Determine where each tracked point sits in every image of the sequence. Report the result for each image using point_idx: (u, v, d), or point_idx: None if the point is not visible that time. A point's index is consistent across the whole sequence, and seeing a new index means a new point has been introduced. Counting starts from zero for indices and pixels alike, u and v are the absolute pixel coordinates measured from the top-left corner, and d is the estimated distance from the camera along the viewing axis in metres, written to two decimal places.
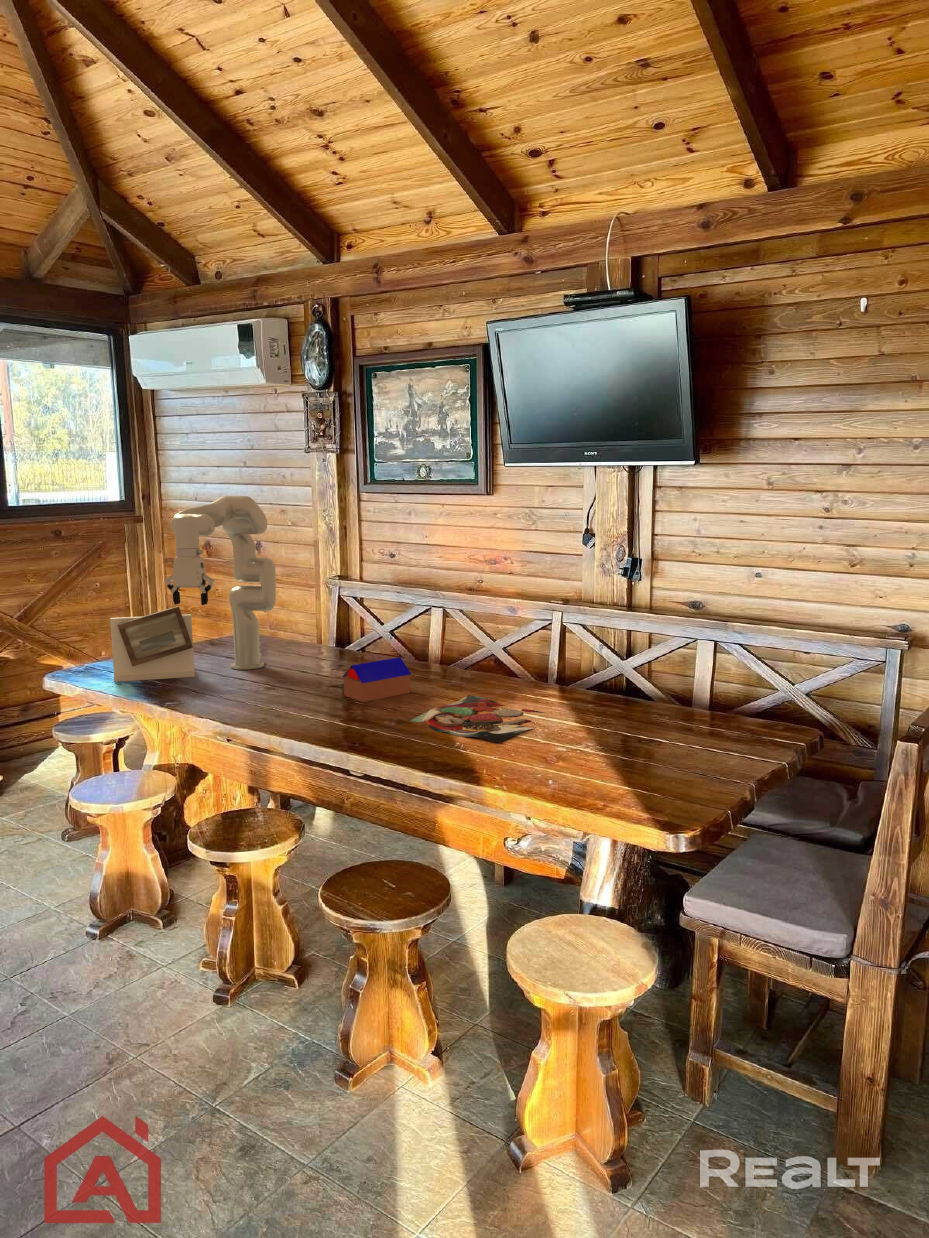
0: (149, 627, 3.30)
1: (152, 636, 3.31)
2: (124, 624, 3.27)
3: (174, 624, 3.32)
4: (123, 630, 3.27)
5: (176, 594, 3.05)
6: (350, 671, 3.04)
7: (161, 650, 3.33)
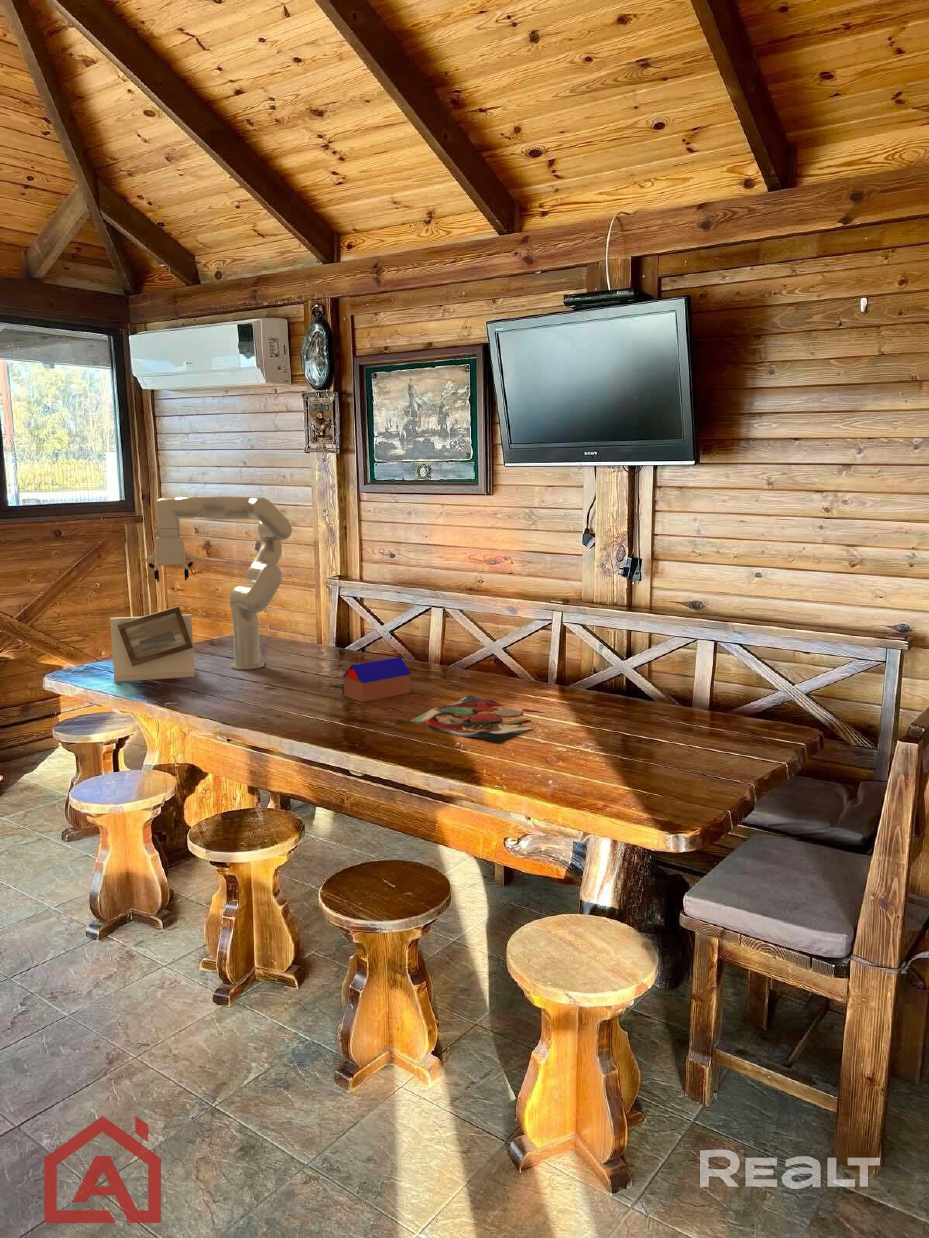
0: (149, 627, 3.30)
1: (152, 636, 3.31)
2: (124, 624, 3.27)
3: (174, 624, 3.32)
4: (123, 630, 3.27)
5: (184, 570, 3.31)
6: (349, 671, 3.04)
7: (161, 650, 3.33)
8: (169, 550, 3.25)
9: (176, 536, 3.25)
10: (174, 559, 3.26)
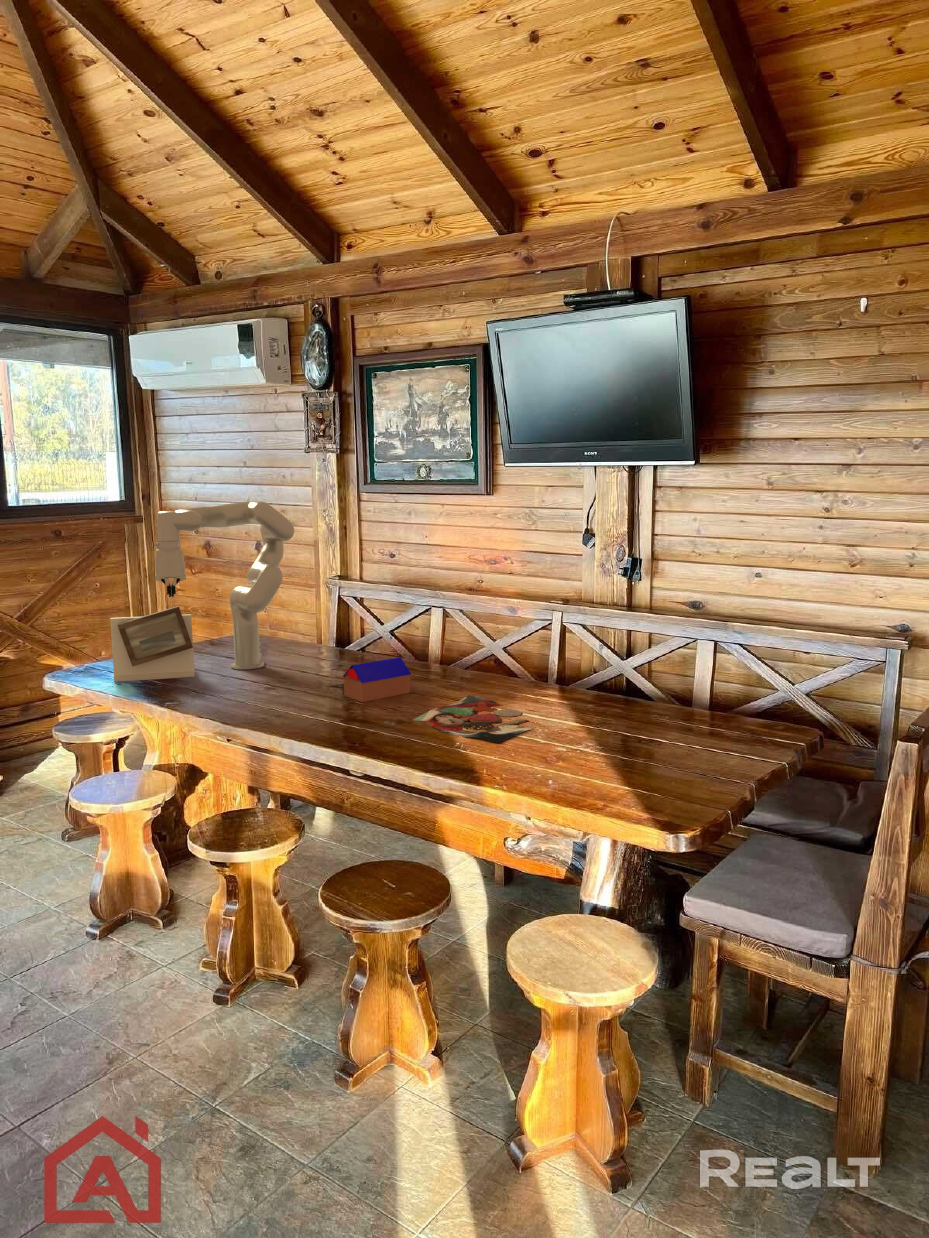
0: (149, 627, 3.30)
1: (152, 636, 3.31)
2: (124, 624, 3.27)
3: (174, 624, 3.32)
4: (123, 630, 3.27)
5: None
6: (349, 671, 3.04)
7: (161, 650, 3.33)
8: (169, 563, 3.26)
9: (176, 549, 3.26)
10: (174, 572, 3.27)
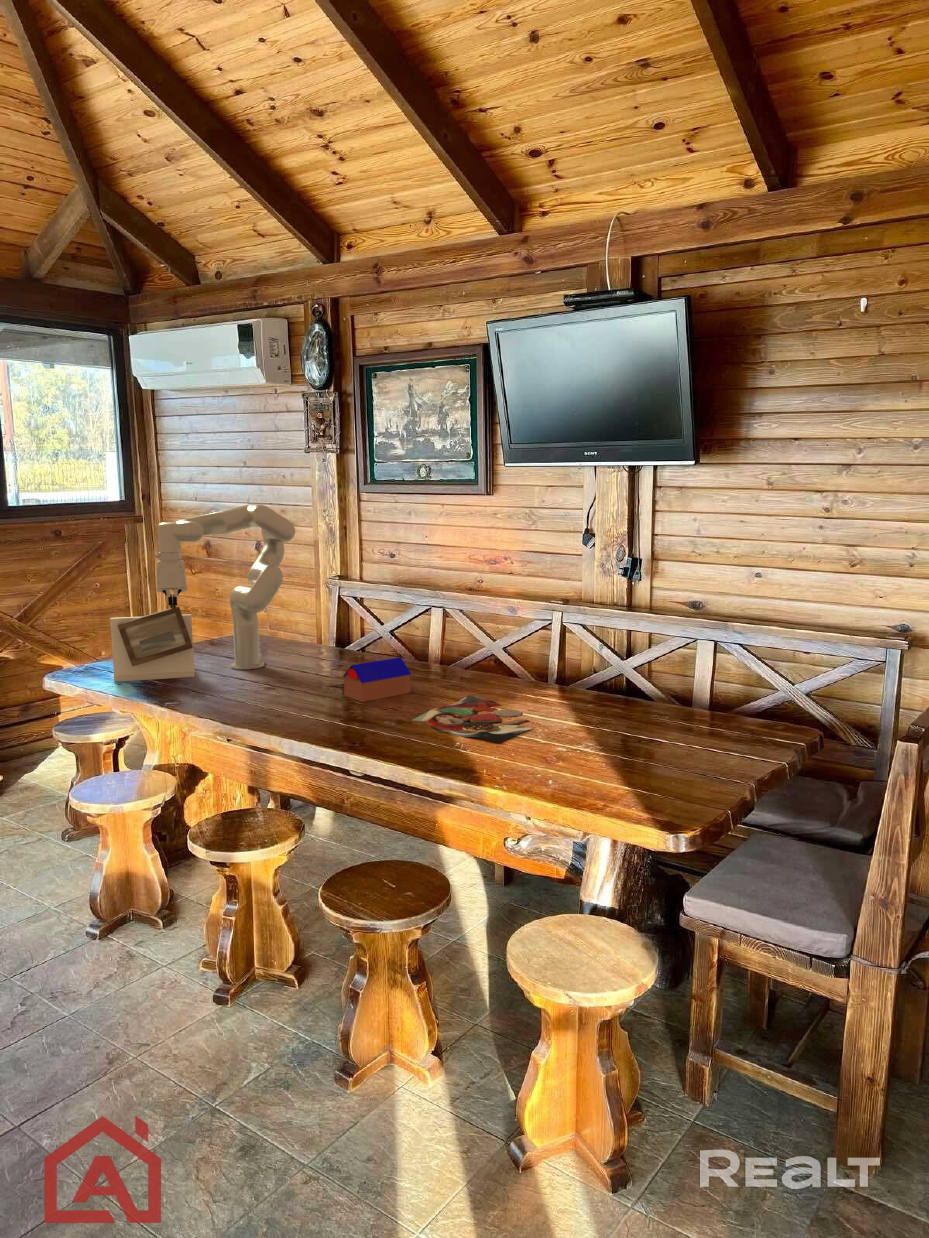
0: (149, 627, 3.30)
1: (152, 636, 3.31)
2: (124, 624, 3.27)
3: (174, 624, 3.32)
4: (123, 630, 3.27)
5: None
6: (349, 671, 3.05)
7: (161, 650, 3.33)
8: (170, 574, 3.27)
9: (177, 560, 3.27)
10: (175, 583, 3.28)
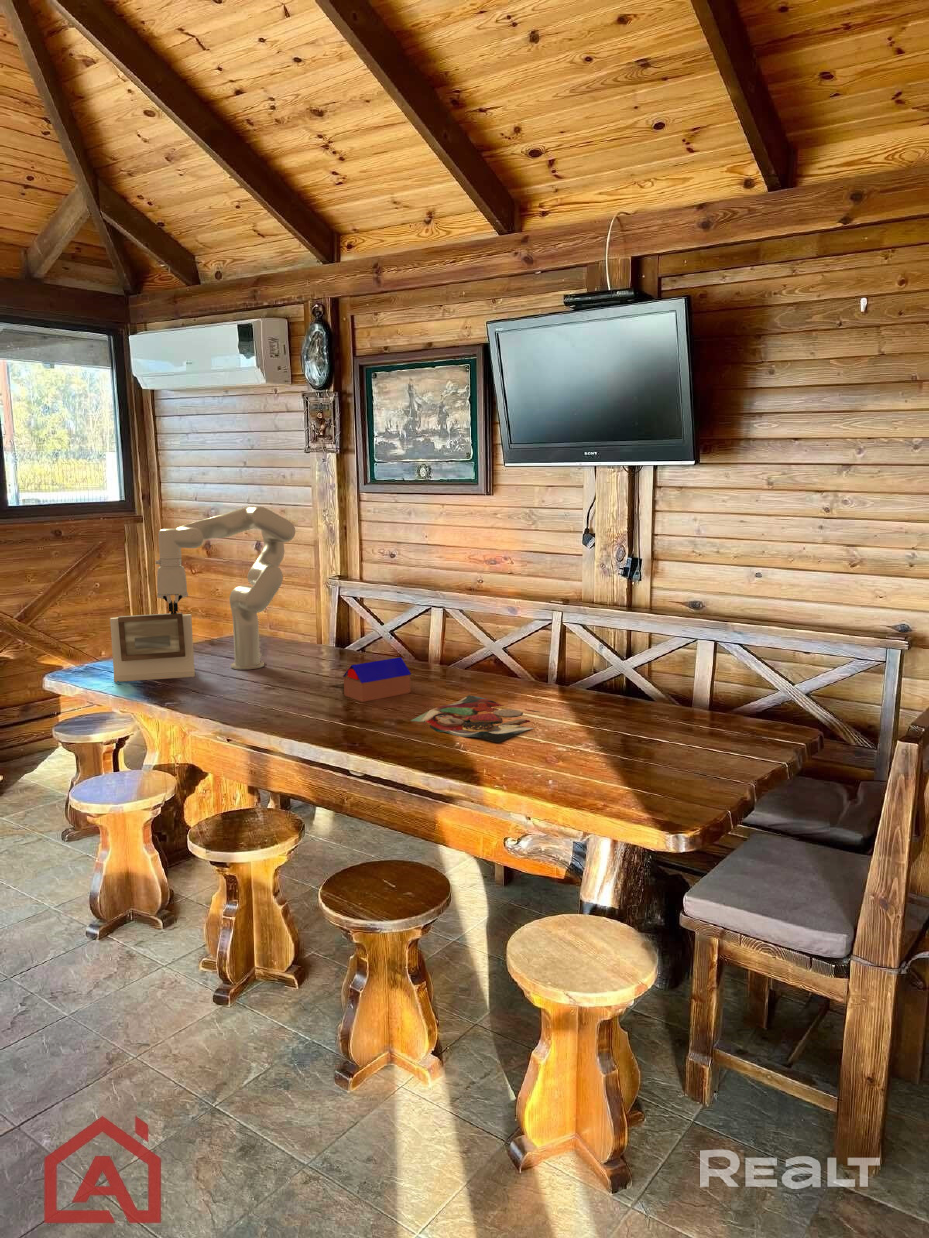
0: (148, 626, 3.30)
1: (148, 636, 3.31)
2: (125, 618, 3.26)
3: (173, 629, 3.33)
4: (122, 624, 3.27)
5: None
6: (349, 671, 3.05)
7: (154, 652, 3.32)
8: (170, 580, 3.27)
9: (178, 566, 3.27)
10: (175, 589, 3.28)
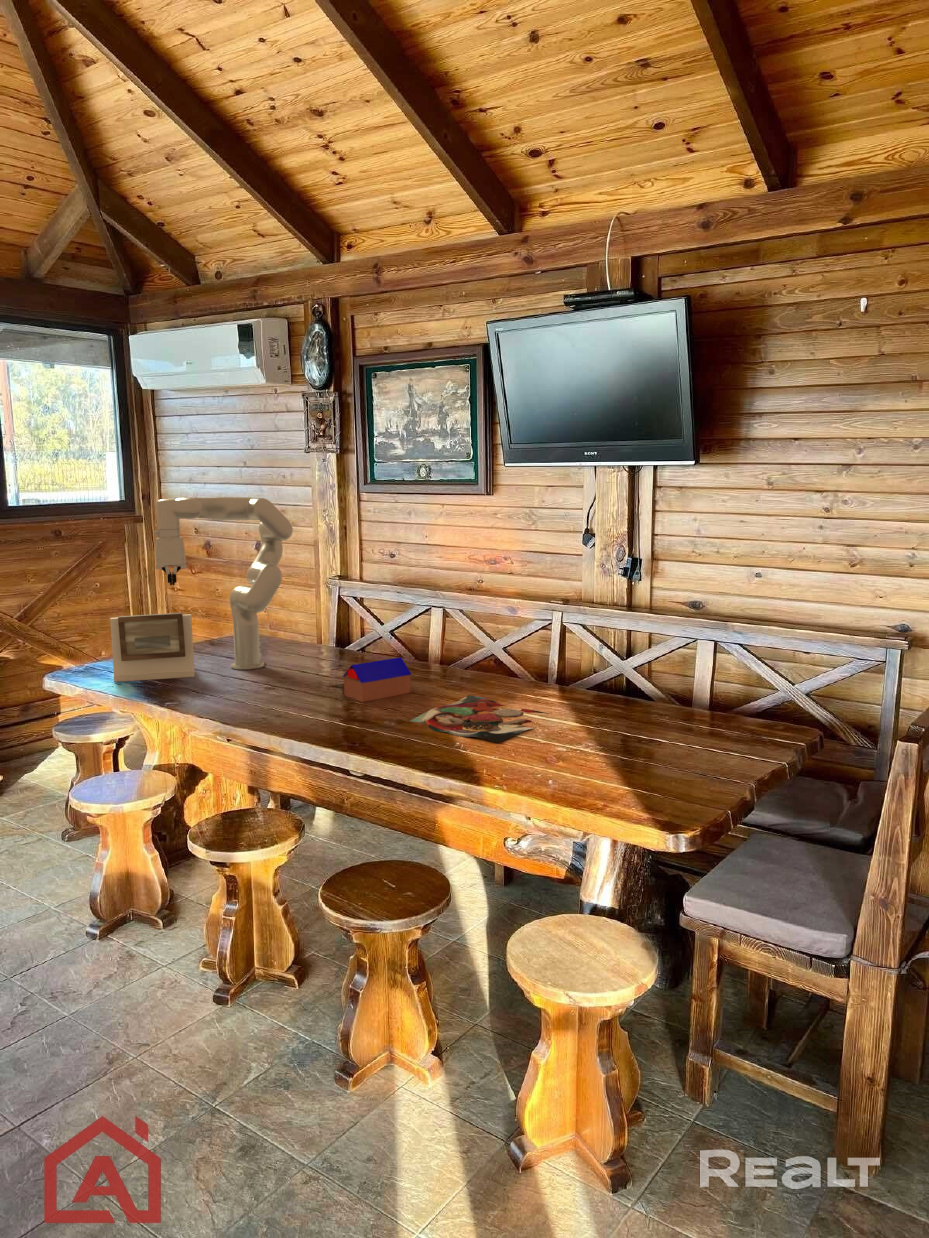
0: (148, 626, 3.30)
1: (148, 636, 3.31)
2: (125, 618, 3.26)
3: (173, 629, 3.33)
4: (122, 624, 3.27)
5: None
6: (349, 671, 3.05)
7: (154, 652, 3.32)
8: (169, 551, 3.25)
9: (176, 537, 3.25)
10: (174, 560, 3.26)
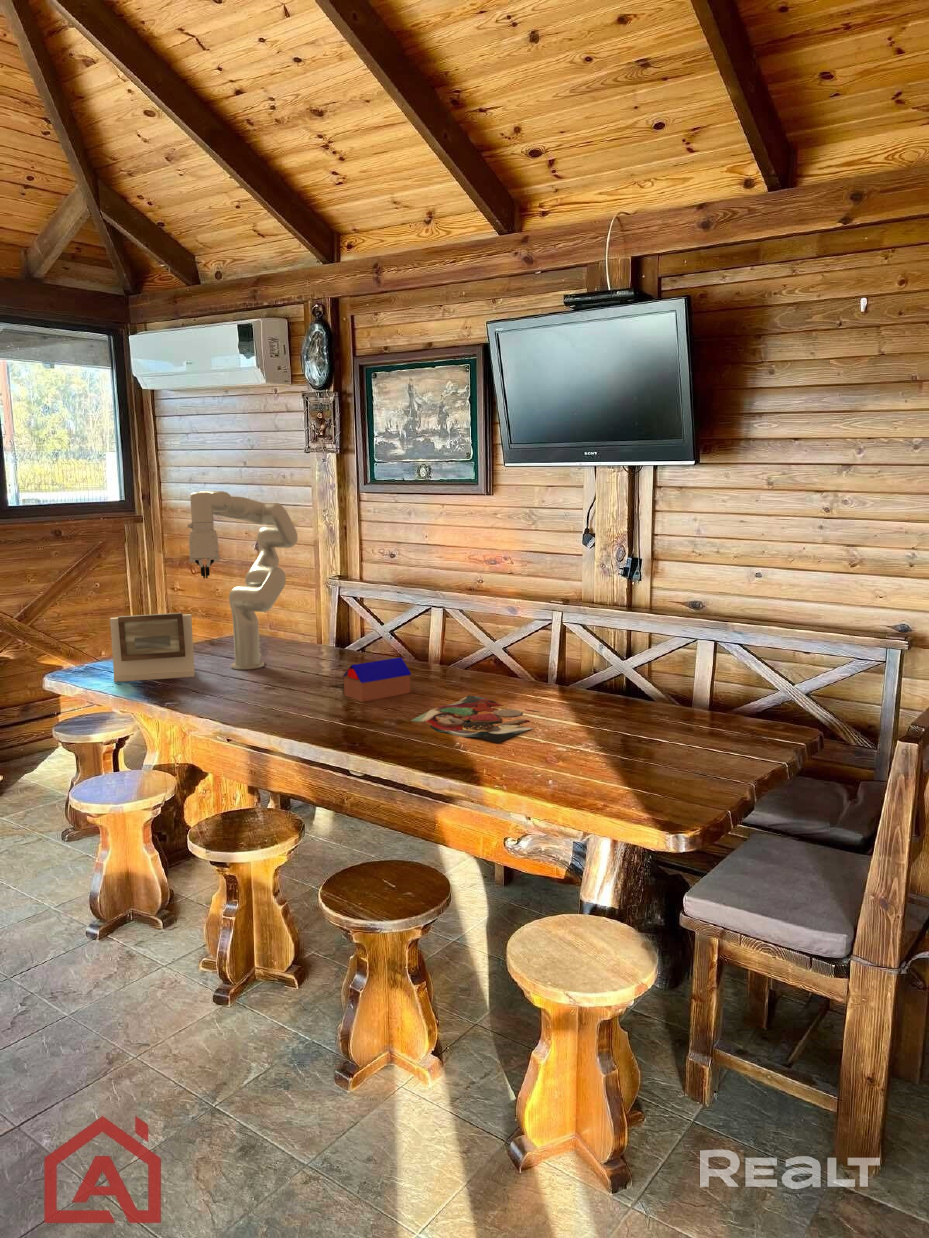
0: (148, 626, 3.30)
1: (148, 636, 3.31)
2: (125, 618, 3.26)
3: (173, 629, 3.33)
4: (122, 624, 3.27)
5: None
6: (349, 671, 3.05)
7: (154, 652, 3.32)
8: (203, 544, 3.25)
9: (210, 530, 3.25)
10: (208, 553, 3.26)
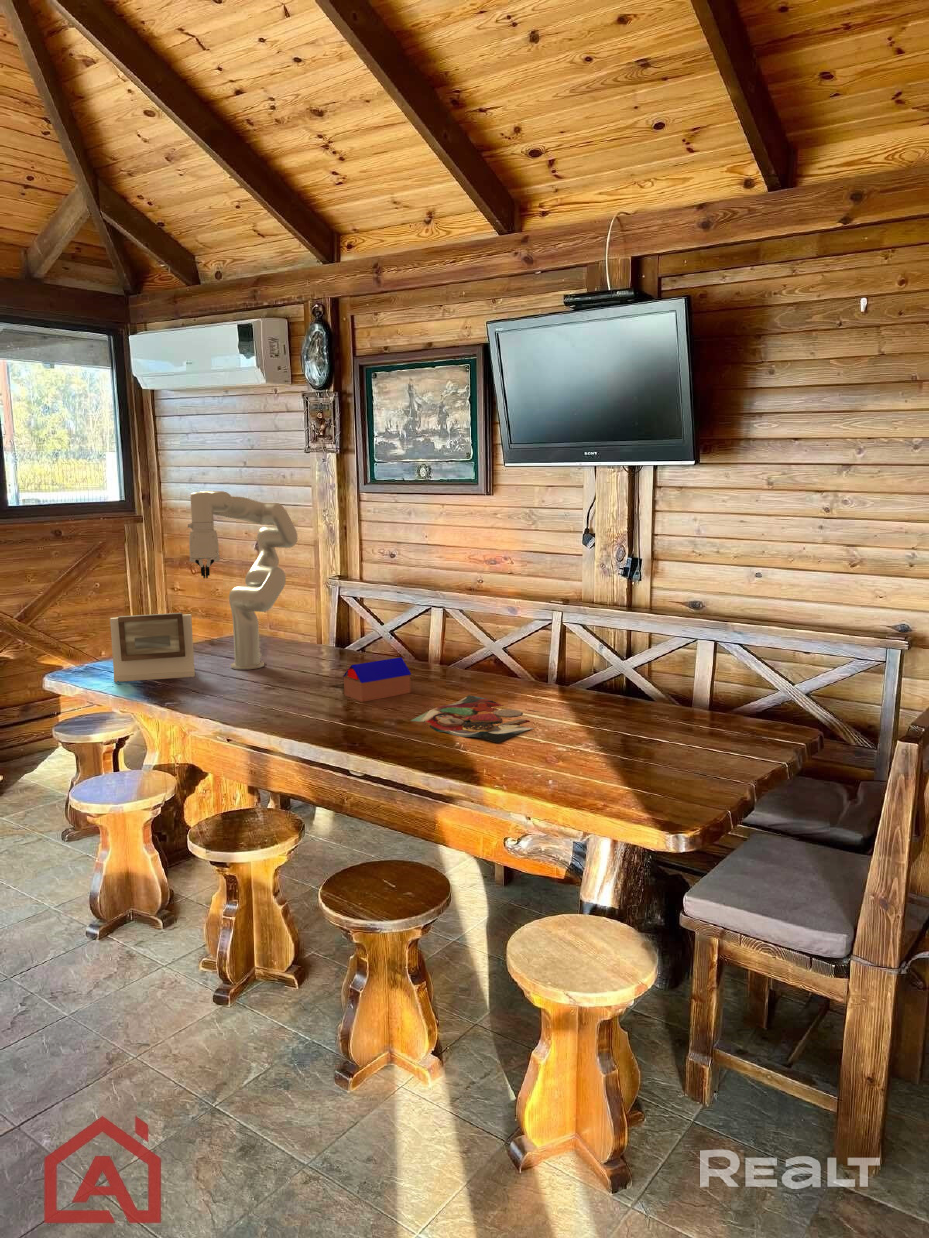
0: (148, 626, 3.30)
1: (148, 636, 3.31)
2: (125, 618, 3.26)
3: (173, 629, 3.33)
4: (122, 624, 3.27)
5: None
6: (349, 671, 3.05)
7: (154, 652, 3.32)
8: (203, 544, 3.25)
9: (210, 530, 3.25)
10: (208, 553, 3.26)
